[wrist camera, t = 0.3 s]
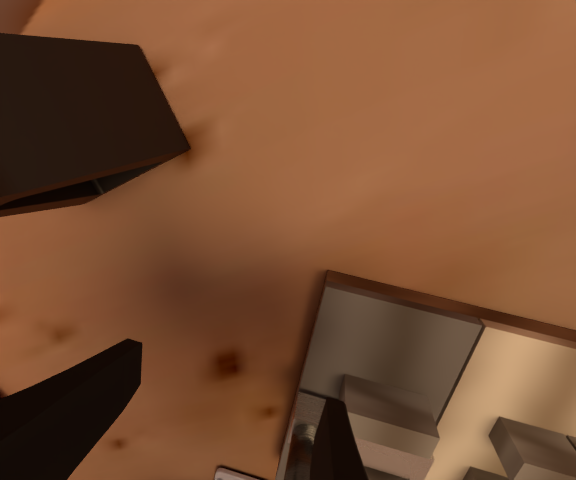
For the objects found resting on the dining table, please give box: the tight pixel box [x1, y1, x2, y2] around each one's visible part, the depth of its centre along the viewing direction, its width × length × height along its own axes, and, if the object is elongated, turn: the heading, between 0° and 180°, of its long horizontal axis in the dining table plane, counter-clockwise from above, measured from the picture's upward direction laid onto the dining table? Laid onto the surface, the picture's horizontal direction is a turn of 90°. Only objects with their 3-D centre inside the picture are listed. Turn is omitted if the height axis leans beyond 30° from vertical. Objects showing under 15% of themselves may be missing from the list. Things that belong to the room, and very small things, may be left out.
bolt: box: [284, 392, 434, 480], centre depth 17 cm, size 8×2×6 cm, turn 79°
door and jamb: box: [275, 270, 576, 480], centre depth 20 cm, size 18×17×5 cm
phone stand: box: [0, 33, 190, 217], centre depth 14 cm, size 9×6×12 cm, turn 114°
